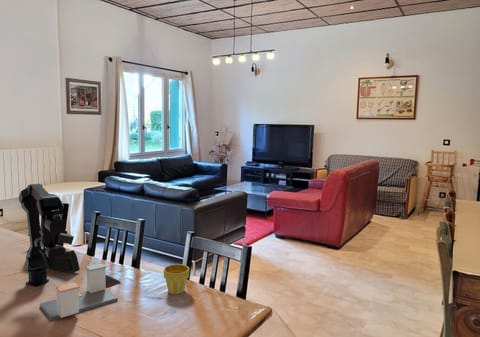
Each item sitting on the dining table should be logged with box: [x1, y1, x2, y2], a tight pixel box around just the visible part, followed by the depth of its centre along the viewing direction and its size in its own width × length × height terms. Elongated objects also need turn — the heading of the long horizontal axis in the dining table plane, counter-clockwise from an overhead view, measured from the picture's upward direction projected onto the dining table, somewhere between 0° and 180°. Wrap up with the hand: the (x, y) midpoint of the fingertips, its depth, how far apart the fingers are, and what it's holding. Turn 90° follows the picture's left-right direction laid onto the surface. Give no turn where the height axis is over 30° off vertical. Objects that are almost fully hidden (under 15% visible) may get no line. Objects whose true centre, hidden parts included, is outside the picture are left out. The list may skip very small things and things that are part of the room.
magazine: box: [25, 247, 81, 273], centre depth 175 cm, size 17×3×30 cm
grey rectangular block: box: [85, 263, 107, 293], centre depth 150 cm, size 4×6×10 cm
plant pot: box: [163, 263, 190, 295], centre depth 155 cm, size 10×10×10 cm
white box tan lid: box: [55, 282, 80, 319], centre depth 131 cm, size 4×6×10 cm
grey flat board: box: [39, 288, 119, 321], centre depth 142 cm, size 13×24×2 cm, turn 133°
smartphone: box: [105, 274, 121, 289], centre depth 164 cm, size 7×1×15 cm
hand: (50, 267), depth 145 cm, fingers closed
